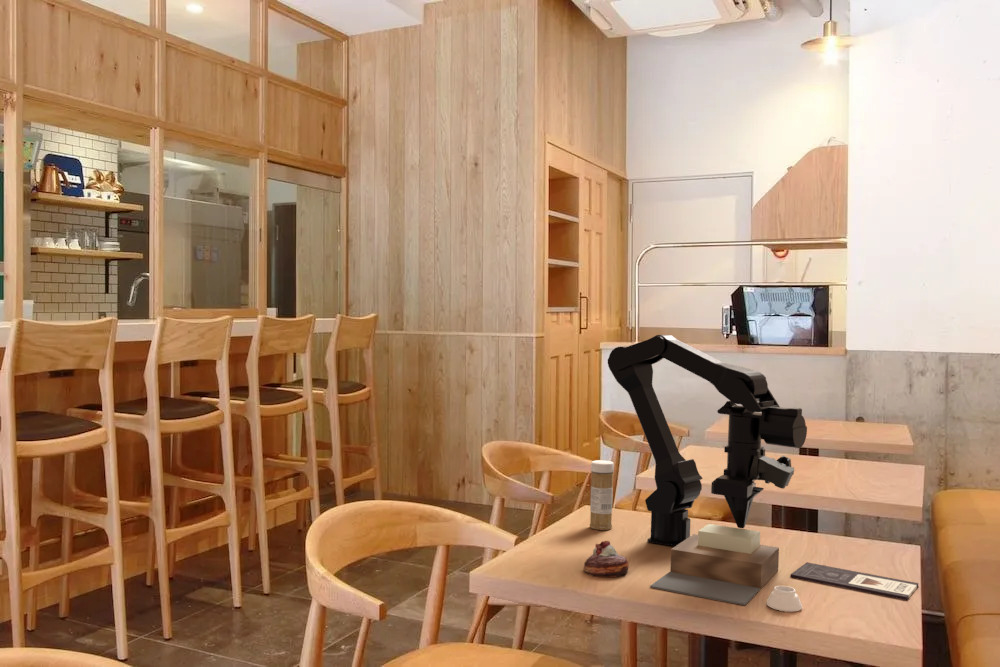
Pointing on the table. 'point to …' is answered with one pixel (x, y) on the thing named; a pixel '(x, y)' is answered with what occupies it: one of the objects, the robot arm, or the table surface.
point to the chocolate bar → (856, 581)
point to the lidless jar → (784, 599)
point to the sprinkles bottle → (601, 494)
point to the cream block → (729, 538)
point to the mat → (706, 588)
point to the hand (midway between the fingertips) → (741, 527)
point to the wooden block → (725, 563)
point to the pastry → (605, 562)
